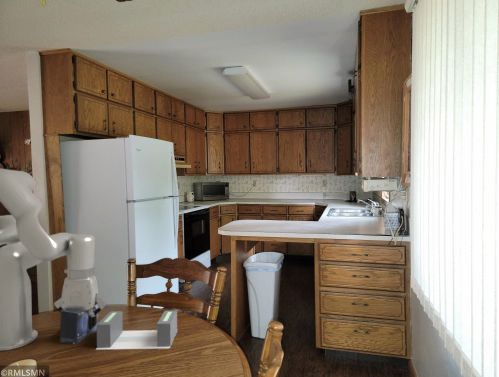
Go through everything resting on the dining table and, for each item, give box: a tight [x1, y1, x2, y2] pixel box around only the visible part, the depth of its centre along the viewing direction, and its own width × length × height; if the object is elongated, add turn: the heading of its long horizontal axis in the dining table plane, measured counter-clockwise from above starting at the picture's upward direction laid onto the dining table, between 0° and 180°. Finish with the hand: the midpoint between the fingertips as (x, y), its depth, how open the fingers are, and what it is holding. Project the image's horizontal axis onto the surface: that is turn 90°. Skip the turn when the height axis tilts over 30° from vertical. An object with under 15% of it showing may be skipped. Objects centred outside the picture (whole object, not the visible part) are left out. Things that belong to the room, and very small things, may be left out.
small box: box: [58, 304, 100, 345], centre depth 105 cm, size 11×6×10 cm, turn 169°
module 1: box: [96, 310, 124, 348], centre depth 102 cm, size 4×10×7 cm, turn 1°
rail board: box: [95, 329, 178, 351], centre depth 103 cm, size 22×12×2 cm, turn 91°
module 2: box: [156, 310, 178, 348], centre depth 103 cm, size 4×10×7 cm, turn 1°
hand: (79, 326), depth 105 cm, fingers closed on small box, 7 cm apart
